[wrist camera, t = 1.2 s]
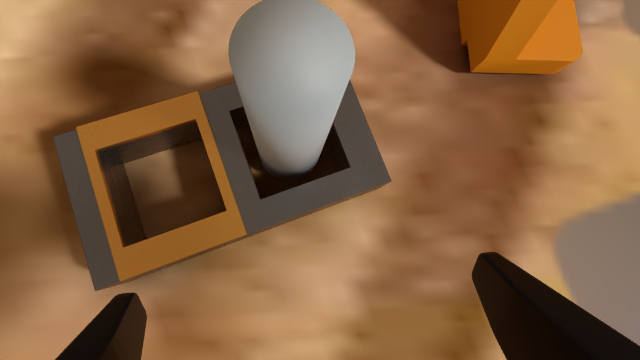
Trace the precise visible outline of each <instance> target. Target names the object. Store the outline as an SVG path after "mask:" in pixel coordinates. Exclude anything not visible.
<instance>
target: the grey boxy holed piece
mask: <svg viewBox="0 0 640 360" xmlns="http://www.w3.org/2000/svg"><path fill="white" fill-rule="evenodd" d="M246 124H249V122H248V118H247V115H246V112H245V109H244V106H243V103H242V100H241V96H240V93H239V90H238V87H237V84H236V82H234V83H231V84H228V85H224V86H221V87H218V88H214V89H211V90H208V91H204V92H201V93H199V92H198V91H195V92H192V93H189V94H185V95H182V96H179V97H175V98H172V99H169V100H165V101H162V102H159V103H155V104H152V105H148V106H145V107H142V108H138V109H135V110H132V111H128V112H125V113H122V114H118V115H115V116H112V117H108V118H105V119H101V120H98V121H95V122H91V123H88V124H85V125H81V126H78V127H76V129H77V130H74V131H70V132H67V133H64V134H60V135H57V136H54V137H53V139H54V143H55V146H56V150H57V154H58V157H59V161H60V165H61V168H62V172H63V176H64V179H65V183H66V187H67V190H68V194H69V197H70V201H71V205H72V208H73V212H74V216H75V219H76V223H77V227H78V230H79V234H80V238H81V241H82V245H83V249H84V252H85V256H86V260H87V263H88V267H89V271H90V274H91V278H92V281H93V285H94V289H95V291H97V290H101V289H105V288H109V287H112V286H116V285H120V284H124V283H126V282H129V281H132V280H134V279H137V278H140V277H142V276H145V275H148V274H150V273H153V272H156V271H158V270H161V269H164V268H167V267H169V266H172V265H175V264H177V263H180V262H183V261H185V260H188V259H191V258H193V257H196V256H199V255H201V254H204V253H207V252H209V251H212V250H215V249H218V248H220V247H223V246H226V245H228V244H231V243H234V242H236V241H239V240H242V239H244V238H247V237H250V236H252V235H255V234H258V233H260V232H263V231H266V230H269V229H271V228H274V227H277V226H279V225H282V224H285V223H287V222H290V221H293V220H295V219H298V218H301V217H303V216H306V215H309V214H312V213H314V212H317V211H320V210H322V209H325V208H328V207H330V206H333V205H336V204H338V203H341V202H344V201H346V200H349V199H352V198H354V197H357V196H360V195H363V194H365V193H368V192H371V191H373V190H376V189H378V188H380V187H382V186H384V185H385V184H387V183H389V182H391V179H390V176H389V174H388V172H387V169H386V167H385V164H384V162H383V159H382V157H381V154H380V152H379V150H378V147H377V145H376V142H375V140H374V137H373V135H372V133H371V130H370V128H369V125H368V123H367V120H366V118H365V116H364V113H363V111H362V108H361V106H360V103H359V101H358V99H357V96H356V94H355V91H354V89H353V86H352V84H351V81H350V80H349V82H348V85H347V87H346V90H345V92H344V95H343V98H342V100H341V103H340V105H339V108H338V110H337V113H336V116H335V118H334V121H333V123H332V126H331V128H330V131H329V133H328V136H327V138H328V141H329V143H330V146H331V148H332V151H333V153H334V156H335V159H336V161H337V164H338V166H339V169H340V171H339V172H336V173H333V174H331V175H328V176H325V177H322V178H319V179H317V180H314V181H311V182H308V183H305V184H303V185H300V186H297V187H294V188H291V189H289V190H286V191H283V192H280V193H277V194H275V195H272V196H269V197H266V198H263V199H261V196H260V193H259V190H258V187H257V185H256V182H255V179H254V176H253V173H252V171H251V168H250V165H249V162H248V159H247V156H246V154H245V151H244V148H243V145H242V142H241V139H240V137H239V134H238V131H237V128H236V127H239V126H243V125H246ZM199 139H203V142H204V145H205V148H206V151H207V154H208V157H209V160H210V162H211V165H212V168H213V171H214V174H215V177H216V180H217V183H218V186H219V189H220V192H221V195H222V198H223V201H224V204H225V207H226V210H227V211H225V212H222V213H219V214H216V215H214V216H211V217H208V218H205V219H202V220H199V221H197V222H194V223H191V224H188V225H185V226H183V227H180V228H177V229H174V230H171V231H169V232H166V233H163V234H160V235H157V236H155V237H152V238H149V239H146V238H145V234H144V231H143V228H142V224H141V221H140V218H139V214H138V211H137V208H136V205H135V201H134V198H133V195H132V191H131V188H130V185H129V181H128V178H127V175H126V171H125V168H124V165H123V164H124V163H127V162H130V161H133V160H136V159H139V158H143V157H146V156H149V155H152V154H155V153H158V152H161V151H164V150H168V149H171V148H174V147H177V146H180V145H183V144H186V143H189V142H193V141H196V140H199Z"/></svg>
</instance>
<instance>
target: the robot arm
mask: <svg viewBox="0 0 640 360" xmlns="http://www.w3.org/2000/svg"><path fill="white" fill-rule="evenodd" d="M472 280H473V283H474V285H475V288H476V290H477V293H478V296H479V298H480V301H481V303H482V306H483V308H484V311H485V313H486V316H487V318H488V321H489V324H490V326H491V328H492V331H493V333H494V335H495V337H496V339H497V341H498V343H499V345H500V347H501V349H502V351H503V353H504V355H505V357H506V359H507V360H640V346H639V345H637V344H636V343H634V342H633V341H631V340H630V339H628V338H627V337H625V336H624V335H622V334H620V333H619V332H617V331H616V330H615V329H613V328H611V327H610V326H608V325H607V324H605V323H604V322H602V321H601V320H599V319H598V318H596V317H594V316H593V315H592V314H590V313H589V312H587V311H585V310H584V309H582V308H581V307H579V306H578V305H576V304H575V303H573V302H572V301H570V300H569V299H567V298H566V297H564V296H563V295H561V294H559V293H558V292H556V291H555V290H553V289H552V288H550V287H549V286H547V285H546V284H544V283H543V282H541V281H540V280H538V279H537V278H535V277H533V276H532V275H530V274H529V273H527V272H526V271H524V270H523V269H521V268H520V267H518V266H517V265H515V264H514V263H512V262H511V261H509V260H507V259H506V258H504V257H503V256H501V255H500V254H498V253H496V252H486V253H481V254H480V255H479V256H478V258H477V261H476V263H475V266H474V268H473V271H472ZM146 321H147V315H146V311H145V309H144V307H143V305H142V303H141V301H140V299H139V297H138V295H137V294H136V293H123V294H118V295H117V296H115V297H114V298H113V299H112V300H111V301H110V302H109V303H108V304H107V305H106V306H105V307H104V308H103V310H102V311H101V312H100V313H99V314H98V315H97V316H96V317H95V318H94V319H93V320H92V321H91V322H90V323H89V324H88V325H87V326H86V327H85V329H84V330H83V331H82V332H81V333H80V334H79V335H78V336H77V337H76V338H75V339H74V340H73V341H72V342H71V343H70V344H69V345H68V346H67V348H66V349H65V350H64V351H63V352H62V353H61V354H60V355H59V356H58V357H57V358H56V359H55V360H141V355H142V348H143V341H144V335H145V328H146Z"/></svg>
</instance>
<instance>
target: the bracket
mask: <svg viewBox="0 0 640 360" xmlns="http://www.w3.org/2000/svg"><path fill="white" fill-rule="evenodd" d="M457 5H458V14H459V23H460V32H461V41H462V46H468V52H469V61H470V70H471V72H482V73H525V74H554V73H557V72H558V71H560V70H561V69H563V68H565V67H566V66H568V65H569V64H571V63H572V62H574V61H576V60H577V59H579V58H580V56H581V55H582V44H581V38H580V32H579V27H578V21H577V15H576V10H575V4H574V0H457Z"/></svg>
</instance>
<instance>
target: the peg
mask: <svg viewBox="0 0 640 360" xmlns="http://www.w3.org/2000/svg"><path fill="white" fill-rule="evenodd" d="M229 60H230V64H231V68H232V71H233V74H234V78H235V81H236V84H237V87H238V90H239V93H240V96H241V100H242V103H243V106H244V109H245V112H246V115H247V118H248V122H249V125H250V128H251V131H252V134H253V137H254V140H255V144H256V147H257V150H258V153H259V156H260V159H261V162H262V165H263V166H264V168H265V169H266V171H267V172H268V173H269V174H270V175H272V176H273V177H275V178H277V179H279V180H283V181H296V180H300V179H302V178H304V177H306V176H307V175H309V174H310V173H311V172H312V171H313V169H314V168H315V166H316V164H317V162H318V159H319V157H320V154H321V151H322V149H323V146H324V144H325V141H326V139H327V136H328V133H329V131H330V128H331V126H332V123H333V121H334V118H335V116H336V113H337V110H338V108H339V105H340V103H341V100H342V98H343V95H344V92H345V90H346V87H347V85H348V82H349V80H350V77H351V74H352V72H353V68H354V63H355V48H354V43H353V40H352V37H351V34H350V32H349V30H348V28H347V26H346V25H345V23H344V22H343V21H342V19H341V18H340V17H339V16H338V15H337V14H336V13H335V12H334V11H333V10H331V9H330V8H328V7H327V6H326V5H324V4H322V3H320V2H318V1H315V0H263V1H261V2H259V3H257V4H255V5H254V6H252V7H251V8H250V9H248V10H247V11H246V12H245V13H244V14H243V15H242V16H241V17H240V19H239V20H238V22H237V23H236V25H235V27H234V29H233V31H232V34H231V37H230V42H229Z"/></svg>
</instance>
